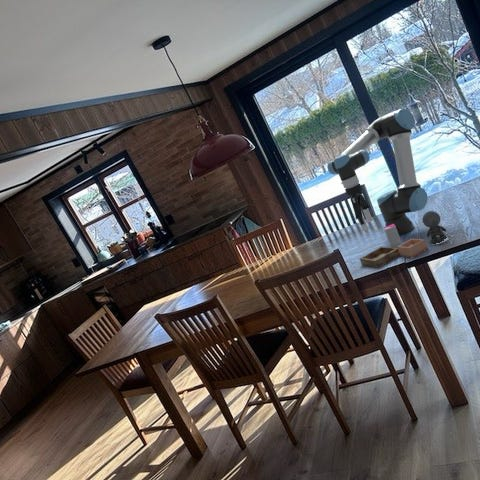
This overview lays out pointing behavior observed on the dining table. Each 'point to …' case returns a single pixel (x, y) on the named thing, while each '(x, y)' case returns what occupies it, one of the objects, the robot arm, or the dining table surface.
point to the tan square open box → (412, 248)
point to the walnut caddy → (380, 256)
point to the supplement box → (392, 236)
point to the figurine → (434, 227)
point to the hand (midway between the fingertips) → (368, 225)
